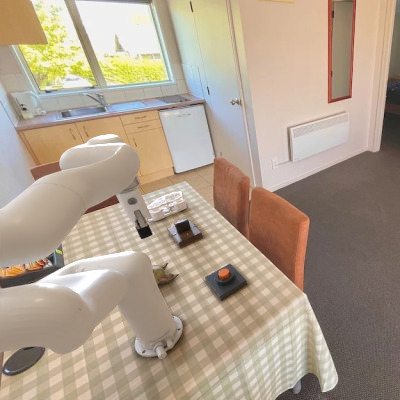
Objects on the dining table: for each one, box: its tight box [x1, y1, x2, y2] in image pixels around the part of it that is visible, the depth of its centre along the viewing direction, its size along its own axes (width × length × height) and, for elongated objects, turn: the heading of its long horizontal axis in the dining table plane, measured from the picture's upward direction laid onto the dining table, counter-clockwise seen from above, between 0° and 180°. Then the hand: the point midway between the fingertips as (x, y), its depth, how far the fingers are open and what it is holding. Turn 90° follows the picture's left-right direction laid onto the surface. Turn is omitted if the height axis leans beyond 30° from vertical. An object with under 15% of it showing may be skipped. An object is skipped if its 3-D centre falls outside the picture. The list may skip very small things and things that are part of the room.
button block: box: [205, 263, 248, 301], centre depth 96 cm, size 12×10×4 cm
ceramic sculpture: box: [152, 262, 180, 286], centre depth 94 cm, size 11×9×15 cm
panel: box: [167, 219, 204, 249], centre depth 120 cm, size 14×10×3 cm
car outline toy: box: [146, 190, 188, 223], centre depth 136 cm, size 20×11×7 cm, turn 137°
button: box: [218, 269, 230, 280], centre depth 94 cm, size 4×4×2 cm
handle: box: [173, 217, 191, 234], centre depth 118 cm, size 6×2×5 cm, turn 133°
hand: (146, 236), depth 81 cm, fingers closed
